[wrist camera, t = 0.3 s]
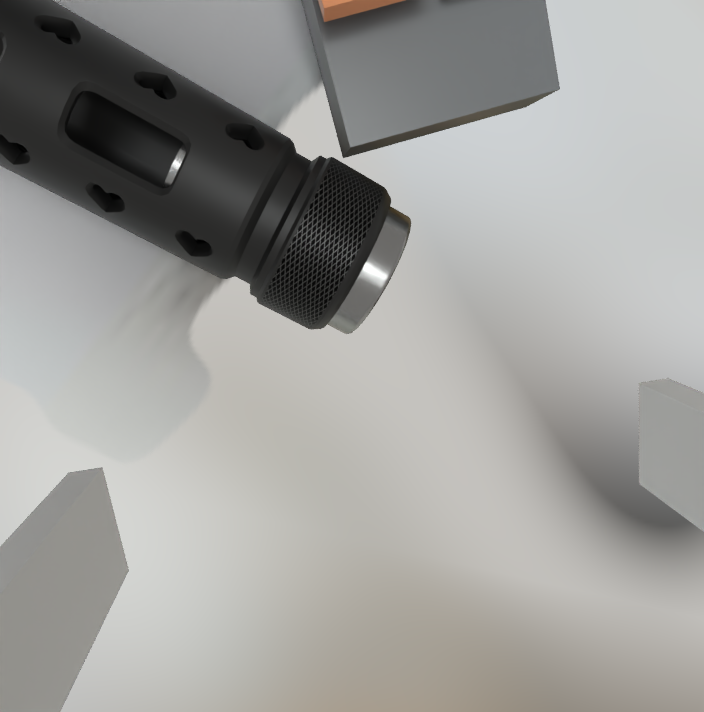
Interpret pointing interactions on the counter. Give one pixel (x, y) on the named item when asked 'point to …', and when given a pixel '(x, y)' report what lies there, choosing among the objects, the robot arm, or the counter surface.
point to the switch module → (430, 66)
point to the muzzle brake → (190, 170)
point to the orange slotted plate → (349, 7)
